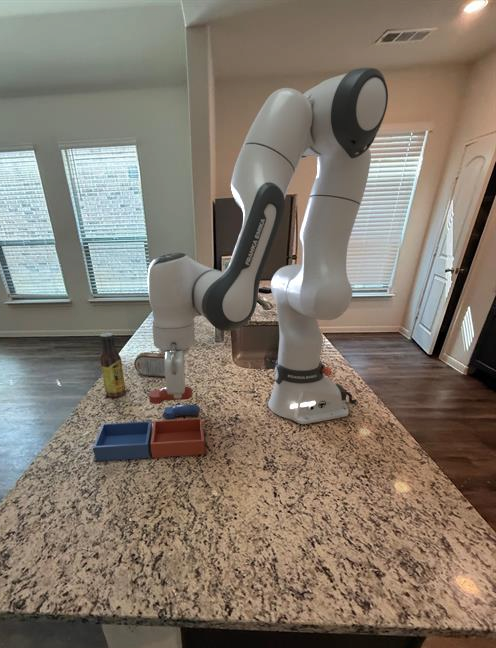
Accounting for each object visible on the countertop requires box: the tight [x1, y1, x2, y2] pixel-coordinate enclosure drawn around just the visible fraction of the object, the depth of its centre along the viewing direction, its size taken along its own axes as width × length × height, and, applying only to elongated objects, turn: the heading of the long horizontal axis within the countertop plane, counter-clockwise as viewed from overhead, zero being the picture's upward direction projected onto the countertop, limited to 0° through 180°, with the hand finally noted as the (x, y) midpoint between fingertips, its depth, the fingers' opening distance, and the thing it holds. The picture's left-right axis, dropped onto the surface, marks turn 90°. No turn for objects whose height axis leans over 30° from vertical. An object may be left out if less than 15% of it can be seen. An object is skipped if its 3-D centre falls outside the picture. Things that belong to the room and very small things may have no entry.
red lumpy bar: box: [148, 386, 194, 405], centre depth 73 cm, size 10×4×3 cm, turn 94°
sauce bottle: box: [99, 332, 126, 398], centre depth 97 cm, size 6×6×20 cm
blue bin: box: [92, 420, 153, 462], centre depth 76 cm, size 12×10×4 cm
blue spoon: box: [163, 403, 201, 420], centre depth 89 cm, size 10×4×3 cm, turn 94°
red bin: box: [150, 417, 206, 459], centre depth 77 cm, size 12×10×4 cm
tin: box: [133, 352, 165, 378], centre depth 111 cm, size 15×3×8 cm, turn 80°
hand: (178, 392), depth 73 cm, fingers closed on red lumpy bar, 3 cm apart
